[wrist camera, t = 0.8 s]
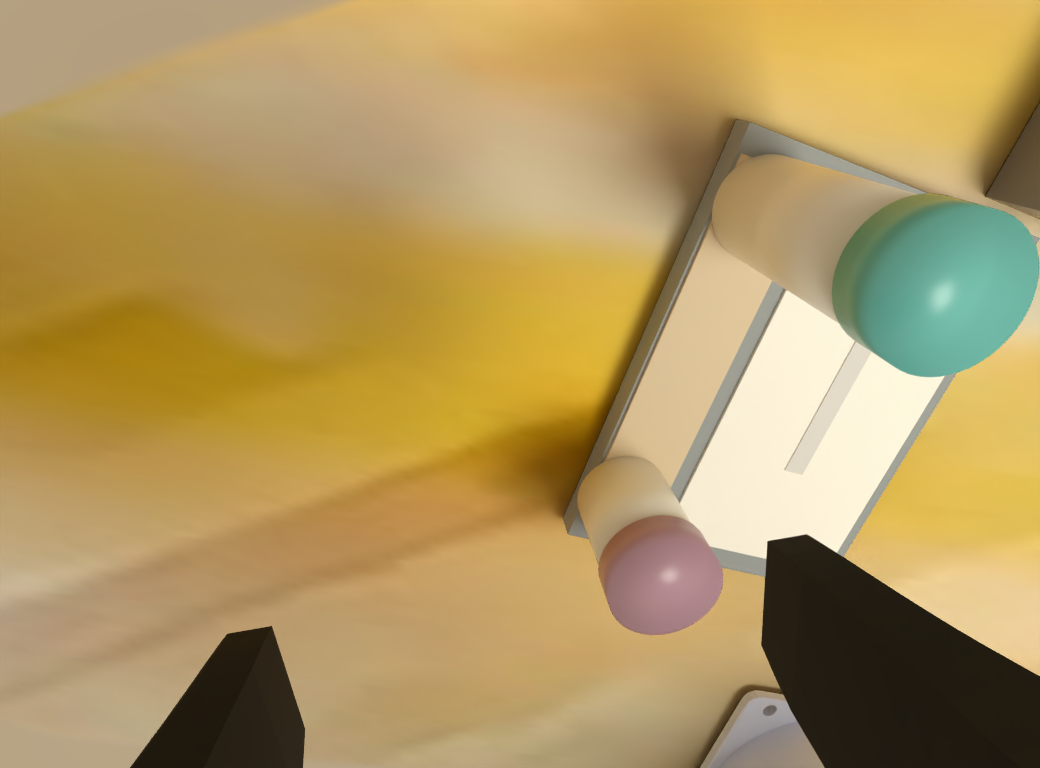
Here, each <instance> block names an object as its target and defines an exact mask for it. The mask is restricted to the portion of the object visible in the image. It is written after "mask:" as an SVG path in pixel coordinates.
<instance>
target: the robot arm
mask: <svg viewBox="0 0 1040 768" xmlns="http://www.w3.org/2000/svg"><path fill="white" fill-rule="evenodd" d="M761 645H762V648H763V650H764V652H765V654H766V657H767V659H768V661H769V664H770V666H771V668H772V671H773V673H774V675H775V677H776V680H777V682H778V684H779V686H780V688H781V691H782V693H783V694H778V693H772V692H766V691H760V690H754V691H751V692H748V693H747V694H745V695H744V697H743V698H742V699H741V701H740V702H739V704H738V706H737V707H736V709H735V711H734V712H733V714H732V716H731V717H730V719H729V721H728V722H727V724H726V726H725V727H724V729H723V730H722V732H721V734H720V735H719V737H718V739H717V740H716V742H715V744H714V745H713V747H712V749H711V750H710V752H709V754H708V755H707V757H706V758H705V760H704V762H703V763H702V765H701V767H700V768H1040V676H1038V675H1036V674H1034V673H1033V672H1031V671H1029V670H1027V669H1025V668H1024V667H1022V666H1020V665H1018V664H1017V663H1015V662H1013V661H1011V660H1009V659H1008V658H1006V657H1004V656H1002V655H1001V654H999V653H997V652H995V651H993V650H992V649H990V648H988V647H986V646H985V645H983V644H981V643H979V642H978V641H976V640H974V639H973V638H971V637H969V636H967V635H966V634H964V633H962V632H961V631H959V630H957V629H956V628H954V627H952V626H951V625H949V624H947V623H946V622H944V621H942V620H941V619H939V618H938V617H936V616H934V615H933V614H931V613H930V612H928V611H926V610H925V609H923V608H921V607H920V606H918V605H917V604H915V603H913V602H912V601H910V600H909V599H907V598H906V597H904V596H903V595H901V594H899V593H898V592H896V591H895V590H893V589H892V588H890V587H888V586H887V585H885V584H884V583H882V582H881V581H879V580H878V579H876V578H875V577H873V576H872V575H870V574H868V573H867V572H865V571H864V570H862V569H861V568H859V567H858V566H856V565H855V564H853V563H852V562H850V561H849V560H847V559H845V558H844V557H842V556H841V555H839V554H838V553H836V552H835V551H833V550H832V549H830V548H828V547H827V546H825V545H824V544H822V543H821V542H819V541H817V540H816V539H814V538H812V537H811V536H809V535H807V534H805V535H800V536H794V537H788V538H782V539H776V540H770V541H767V556H766V574H765V591H764V609H763V626H762V644H761ZM304 738H305V727H304V724H303V721H302V718H301V715H300V712H299V709H298V706H297V703H296V700H295V696H294V693H293V690H292V687H291V684H290V681H289V678H288V675H287V672H286V669H285V665H284V662H283V659H282V656H281V653H280V650H279V647H278V644H277V641H276V638H275V635H274V631H273V628H272V626H270V627H264V628H259V629H253V630H247V631H241V632H235V633H229V634H227V635H226V636H225V638H224V639H223V640H222V641H221V643H220V644H219V646H218V647H217V648H216V650H215V651H214V652H213V654H212V655H211V657H210V658H209V659H208V661H207V662H206V664H205V665H204V666H203V668H202V669H201V671H200V672H199V674H198V675H197V676H196V678H195V679H194V681H193V682H192V683H191V685H190V686H189V688H188V689H187V691H186V692H185V693H184V695H183V696H182V698H181V699H180V700H179V702H178V703H177V705H176V706H175V707H174V709H173V710H172V712H171V713H170V714H169V716H168V717H167V719H166V720H165V721H164V723H163V724H162V725H161V727H160V728H159V729H158V731H157V732H156V733H155V735H154V736H153V738H152V739H151V740H150V742H149V743H148V744H147V746H146V747H145V748H144V750H143V751H142V753H141V754H140V755H139V756H138V758H137V759H136V761H135V762H134V763H133V764H132V766H131V767H130V768H303V756H304Z"/></svg>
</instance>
